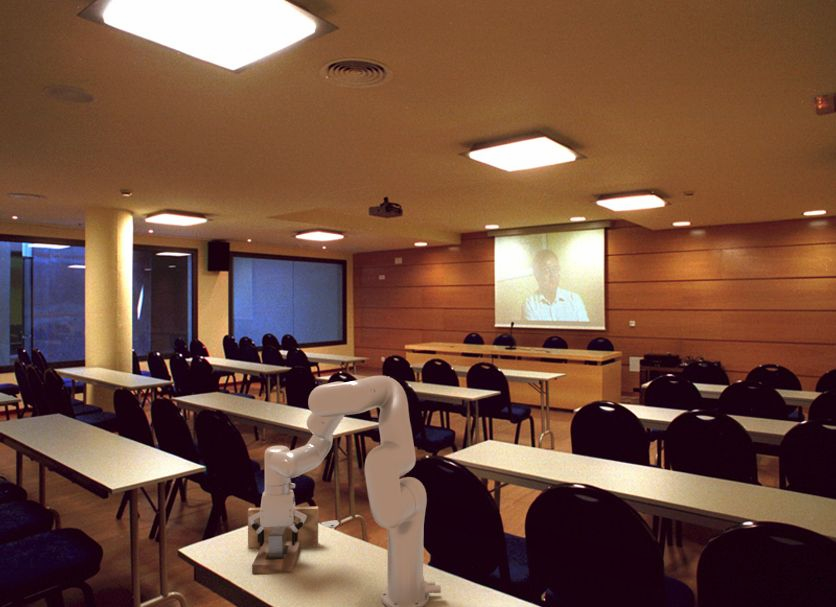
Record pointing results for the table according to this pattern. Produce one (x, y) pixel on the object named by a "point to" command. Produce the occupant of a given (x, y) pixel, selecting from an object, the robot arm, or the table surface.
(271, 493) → the robot arm
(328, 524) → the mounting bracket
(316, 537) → the wooden backboard stand
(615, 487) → the table surface
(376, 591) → the table surface
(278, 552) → the tall grey rectangular prism
